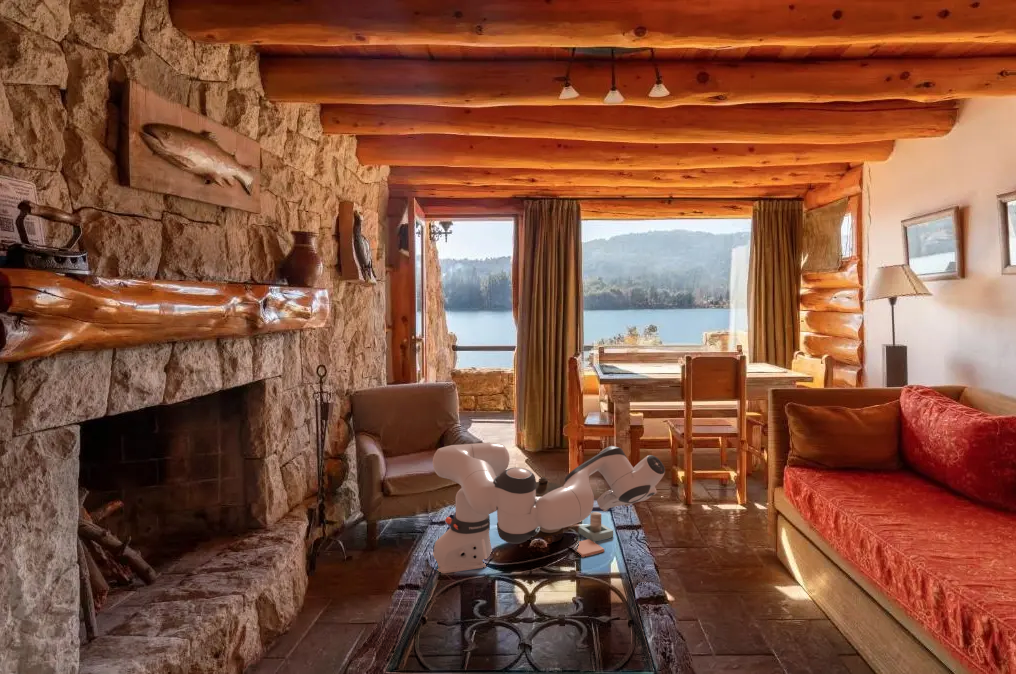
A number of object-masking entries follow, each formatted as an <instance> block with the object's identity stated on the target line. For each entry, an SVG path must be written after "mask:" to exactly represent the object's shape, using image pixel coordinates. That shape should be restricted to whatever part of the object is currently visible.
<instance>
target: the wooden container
mask: <svg viewBox="0 0 1016 674" xmlns="http://www.w3.org/2000/svg"><path fill="white" fill-rule="evenodd" d="M560 487H563V486H562V485H561V484H559V483H556V482H551V481H549V480H548V478H547V477H545V476H543V477H540V478H538V481H536V497H542V496H543V495H545V494H547V493H549V492H551V491H553V490H555V489H557V488H560ZM564 529H565V527H564V528H560V529H553V530H547V529H544V528H542V527H540V530H539V532H538V534H537V535H535V536H534V537H546V536H551V535H558V534H561V533H564V534H565V531H564ZM537 531H538V530H537Z"/></svg>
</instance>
